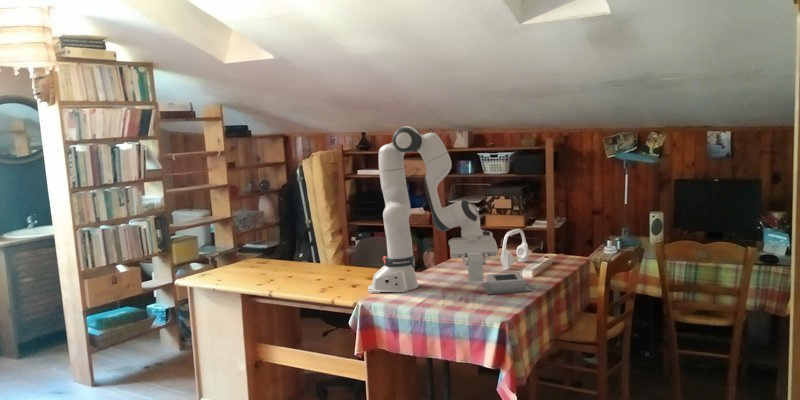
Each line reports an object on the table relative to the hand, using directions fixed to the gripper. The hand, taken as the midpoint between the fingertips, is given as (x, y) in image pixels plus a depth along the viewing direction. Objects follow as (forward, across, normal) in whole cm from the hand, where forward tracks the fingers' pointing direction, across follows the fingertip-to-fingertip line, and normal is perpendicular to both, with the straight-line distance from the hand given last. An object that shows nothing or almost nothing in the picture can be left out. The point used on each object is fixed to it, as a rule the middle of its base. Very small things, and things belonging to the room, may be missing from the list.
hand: (475, 264), depth 272 cm
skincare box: (+5, 0, +6) cm, 7 cm away
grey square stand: (+7, +13, +9) cm, 17 cm away
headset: (-20, +24, +36) cm, 48 cm away
